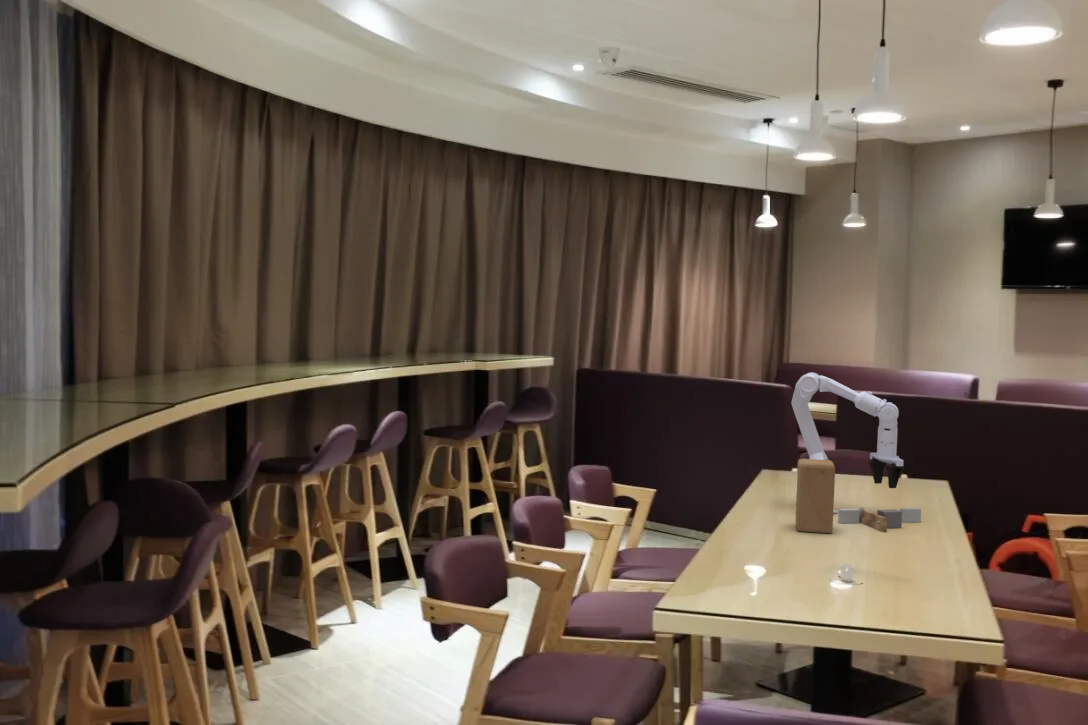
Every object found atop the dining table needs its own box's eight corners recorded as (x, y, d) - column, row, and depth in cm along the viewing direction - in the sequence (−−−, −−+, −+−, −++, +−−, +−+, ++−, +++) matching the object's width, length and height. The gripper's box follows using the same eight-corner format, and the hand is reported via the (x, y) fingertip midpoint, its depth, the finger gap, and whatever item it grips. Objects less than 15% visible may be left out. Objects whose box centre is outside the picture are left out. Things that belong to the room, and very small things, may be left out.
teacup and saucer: (838, 575, 246) (839, 558, 246) (870, 581, 241) (871, 564, 241) (823, 582, 239) (824, 565, 239) (855, 589, 234) (856, 571, 234)
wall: (841, 523, 302) (841, 509, 301) (838, 522, 304) (838, 507, 303) (920, 522, 306) (921, 507, 306) (916, 520, 308) (917, 506, 308)
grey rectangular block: (883, 529, 296) (884, 512, 296) (876, 526, 299) (877, 509, 299) (901, 528, 298) (902, 511, 297) (894, 525, 301) (894, 509, 301)
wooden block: (832, 534, 287) (835, 465, 286) (796, 532, 289) (799, 463, 288) (829, 526, 297) (832, 459, 296) (795, 524, 299) (797, 457, 298)
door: (859, 523, 303) (859, 510, 302) (864, 523, 303) (865, 510, 303) (881, 532, 291) (881, 518, 291) (886, 531, 292) (887, 518, 292)
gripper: (912, 445, 305) (910, 489, 306) (884, 438, 319) (882, 481, 320) (892, 445, 303) (890, 490, 304) (865, 438, 317) (863, 481, 318)
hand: (885, 485), depth 312 cm, fingers open, 7 cm apart
